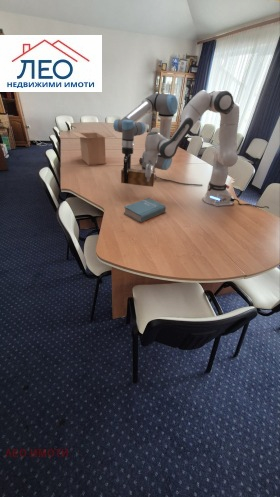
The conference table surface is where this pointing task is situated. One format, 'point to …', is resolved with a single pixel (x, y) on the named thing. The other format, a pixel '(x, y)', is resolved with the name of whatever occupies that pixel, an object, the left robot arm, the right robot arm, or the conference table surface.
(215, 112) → the right robot arm
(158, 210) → the book
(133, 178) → the bar
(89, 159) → the box
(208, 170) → the conference table surface
